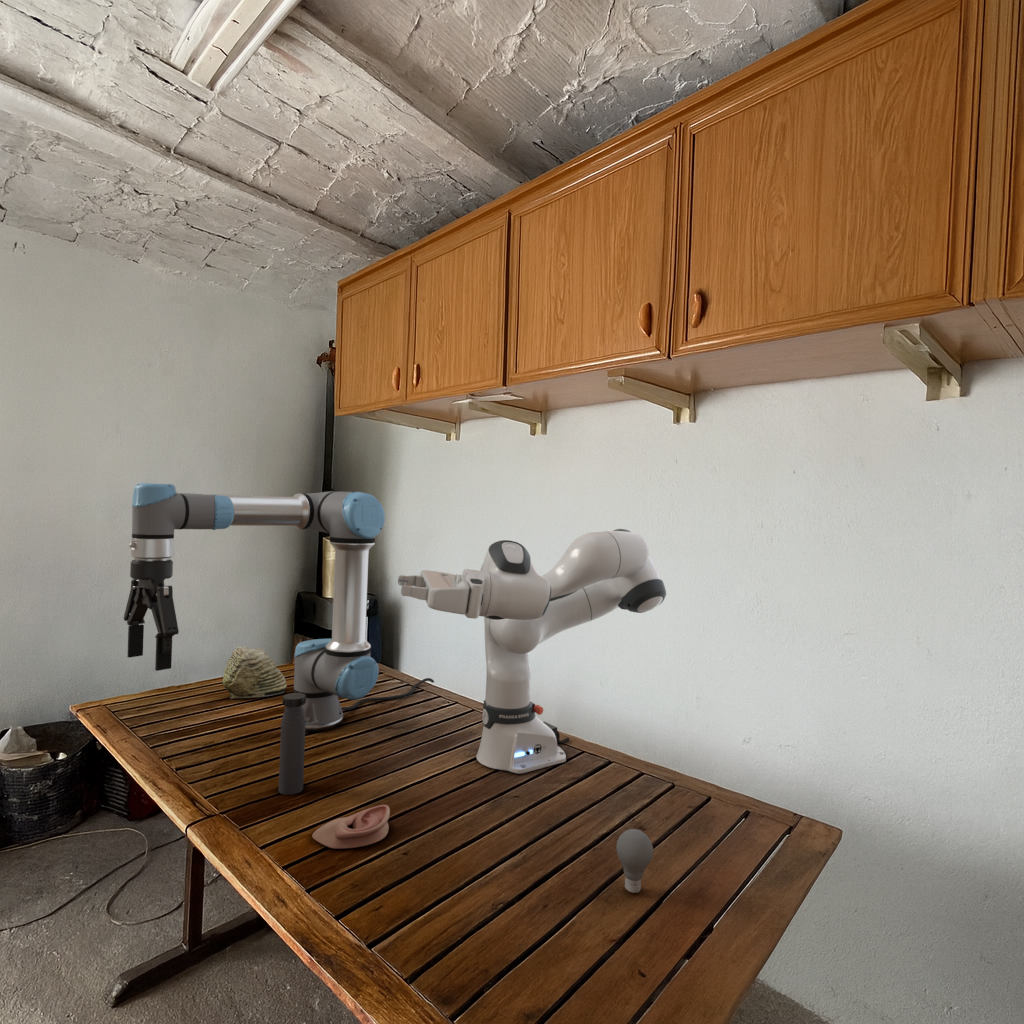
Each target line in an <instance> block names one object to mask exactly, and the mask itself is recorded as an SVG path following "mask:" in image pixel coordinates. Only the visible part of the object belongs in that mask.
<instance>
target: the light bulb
mask: <svg viewBox="0 0 1024 1024" xmlns="http://www.w3.org/2000/svg"><path fill="white" fill-rule="evenodd" d="M615 849H616V854H617V857H618V859H619V861H620V863H621V865H622V867H623V873H624V874H623V875H624V876H625V878H624V888H625V890H627V891H628V892H630V893H634V894H635V893H639V892H640V891H641V889H642V887H641V886H642V879H643V877H644V875H645V871H646V868H647V867H648V866H649V864H650V863H651V861H652V859H653V855H654V847H653V843H652V841H651V838H649V836H648V835H647V834H646V833H645V832H643V831H642V830H641V829H636V828H629V829H627V830H625V831H623V832H622V833H621V834H620V835H619V837H618V839H617V841H616V847H615Z"/></svg>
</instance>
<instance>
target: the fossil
mask: <svg viewBox="0 0 1024 1024" xmlns="http://www.w3.org/2000/svg"><path fill="white" fill-rule="evenodd" d="M222 676H223V677H222V685H223V687H224V688H225V690H226V691H228V693H229V698H230V699H250V698H264V697H271V696H275V695H281V694H284V693H285V691H286V689H287V687H288V686H287V680H286V678H285V676H284V674H283V673H282V672H281V669H279V668H278V667H277V665H276V663H275V662H274V660H273V659H272V658H271V657H270V656H269V655H268V654H267V653H266V652H265V650H264V649H263V648H260V647H258V648H251V647H247V646H246V647H245V646H238V647H237V648H236V649H235V650H233V651H232V653H231V656H230V657H229V659H228V660H227V663H226V666H225V668H224V671H223V675H222Z"/></svg>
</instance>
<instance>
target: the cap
mask: <svg viewBox="0 0 1024 1024" xmlns="http://www.w3.org/2000/svg"><path fill="white" fill-rule="evenodd" d="M305 696H306V695H305V694H302V693H294V692H291V693H286V694H284V695H283V696H282V706H283V707H286V706H287V707H298V706H302V705H304V704H305V703H306V697H305Z"/></svg>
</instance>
